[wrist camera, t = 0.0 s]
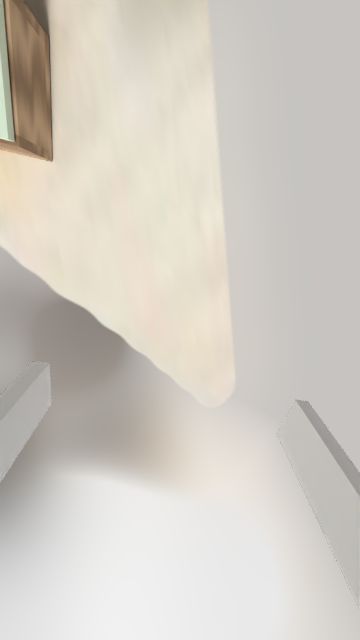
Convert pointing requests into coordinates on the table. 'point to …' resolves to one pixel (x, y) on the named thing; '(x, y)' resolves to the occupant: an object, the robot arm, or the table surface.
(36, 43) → the wooden box
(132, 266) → the table surface
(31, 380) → the robot arm
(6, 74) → the lid
